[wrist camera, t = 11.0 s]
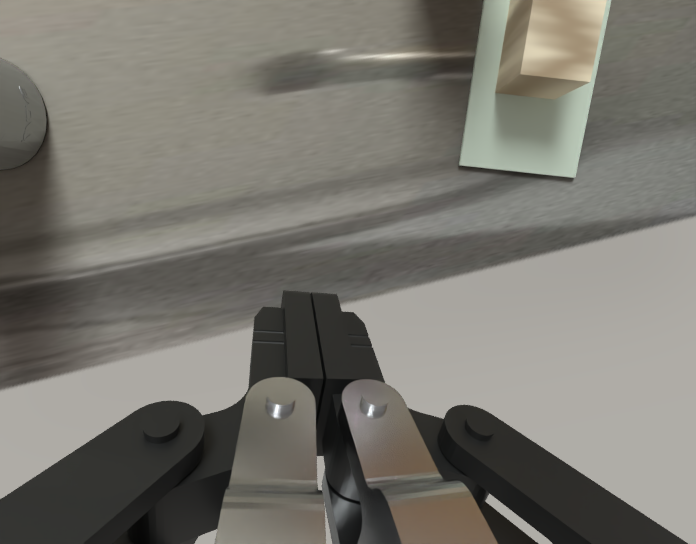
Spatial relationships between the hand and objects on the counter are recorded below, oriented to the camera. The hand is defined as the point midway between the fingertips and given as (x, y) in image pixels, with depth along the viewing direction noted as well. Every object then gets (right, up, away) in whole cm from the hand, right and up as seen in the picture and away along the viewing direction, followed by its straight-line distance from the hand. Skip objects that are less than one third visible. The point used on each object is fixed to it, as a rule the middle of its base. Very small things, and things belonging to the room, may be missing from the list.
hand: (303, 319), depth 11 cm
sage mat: (+17, +20, +21) cm, 34 cm away
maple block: (+16, +16, +19) cm, 29 cm away
